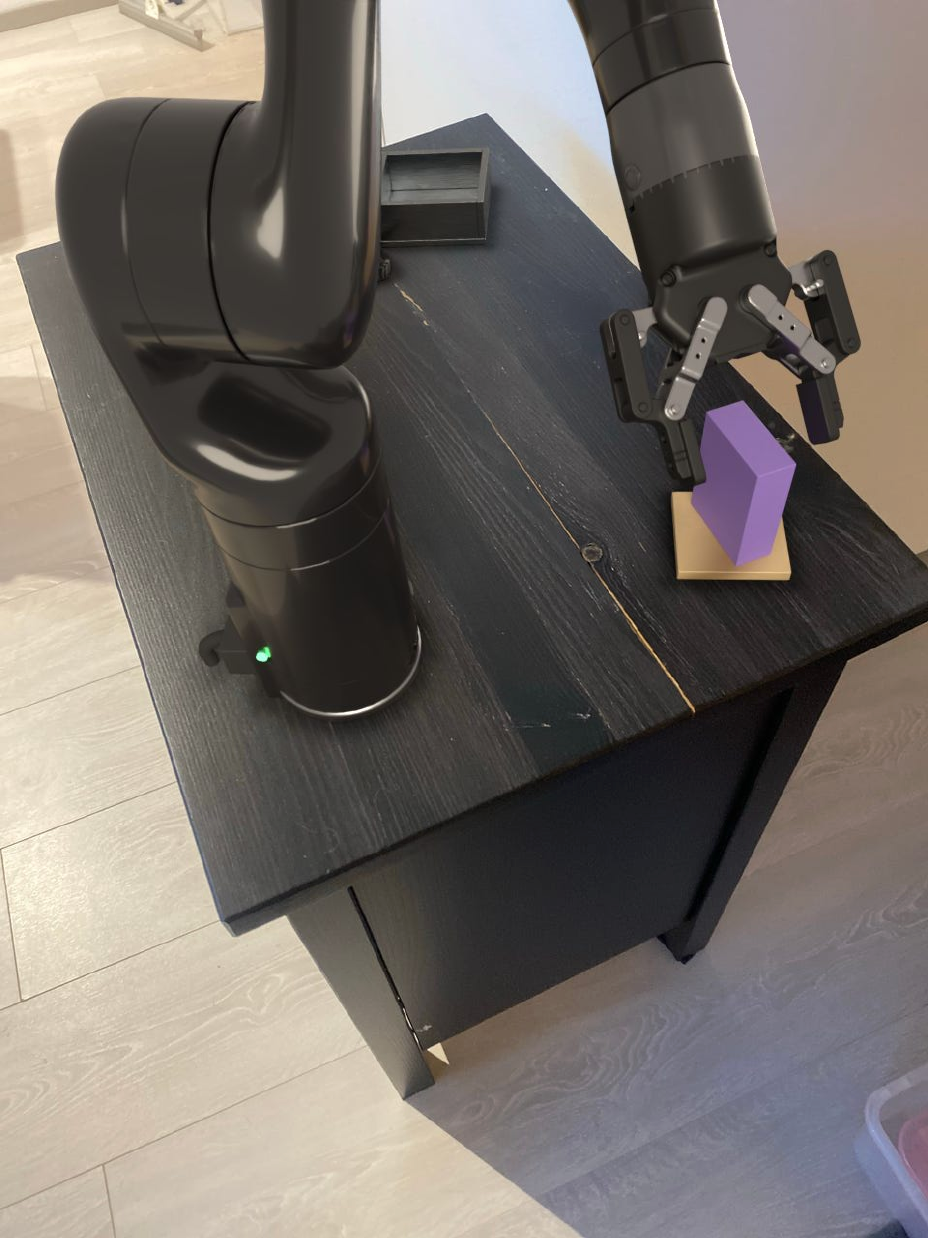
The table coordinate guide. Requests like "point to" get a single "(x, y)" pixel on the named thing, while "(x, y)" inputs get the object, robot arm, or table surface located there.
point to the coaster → (718, 549)
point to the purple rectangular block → (742, 482)
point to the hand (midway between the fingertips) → (760, 463)
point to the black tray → (435, 197)
